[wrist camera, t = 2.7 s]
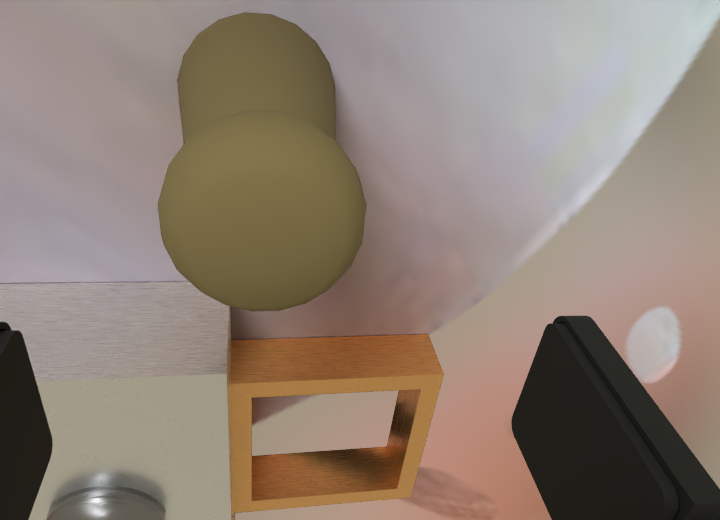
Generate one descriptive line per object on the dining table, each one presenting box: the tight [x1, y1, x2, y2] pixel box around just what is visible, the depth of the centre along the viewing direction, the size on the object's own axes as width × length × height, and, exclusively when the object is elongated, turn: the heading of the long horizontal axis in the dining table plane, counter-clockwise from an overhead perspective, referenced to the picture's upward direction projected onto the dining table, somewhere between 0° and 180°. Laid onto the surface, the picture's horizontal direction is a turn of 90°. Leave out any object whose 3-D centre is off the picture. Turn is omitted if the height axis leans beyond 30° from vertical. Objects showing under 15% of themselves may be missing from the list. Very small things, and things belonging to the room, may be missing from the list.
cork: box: [158, 13, 366, 311], centre depth 18 cm, size 6×6×11 cm
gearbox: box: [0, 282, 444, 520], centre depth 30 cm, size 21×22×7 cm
